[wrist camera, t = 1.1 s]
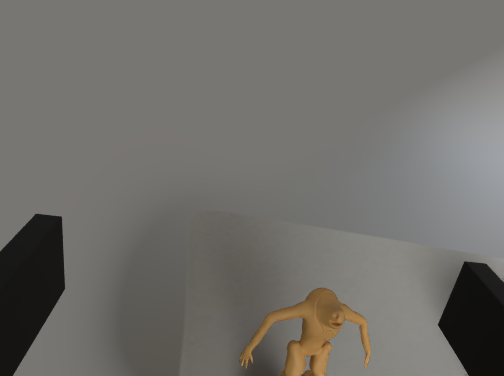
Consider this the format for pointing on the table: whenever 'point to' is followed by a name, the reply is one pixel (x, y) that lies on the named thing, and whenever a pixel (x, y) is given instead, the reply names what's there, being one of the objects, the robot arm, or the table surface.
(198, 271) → the table surface
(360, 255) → the table surface
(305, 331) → the figurine
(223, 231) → the table surface
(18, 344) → the robot arm
